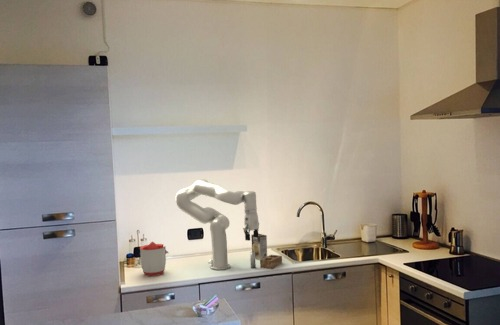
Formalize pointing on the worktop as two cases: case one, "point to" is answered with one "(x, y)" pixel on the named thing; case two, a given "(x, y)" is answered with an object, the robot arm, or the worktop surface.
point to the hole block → (271, 261)
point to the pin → (252, 259)
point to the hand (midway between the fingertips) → (251, 238)
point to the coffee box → (259, 246)
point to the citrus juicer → (153, 259)
